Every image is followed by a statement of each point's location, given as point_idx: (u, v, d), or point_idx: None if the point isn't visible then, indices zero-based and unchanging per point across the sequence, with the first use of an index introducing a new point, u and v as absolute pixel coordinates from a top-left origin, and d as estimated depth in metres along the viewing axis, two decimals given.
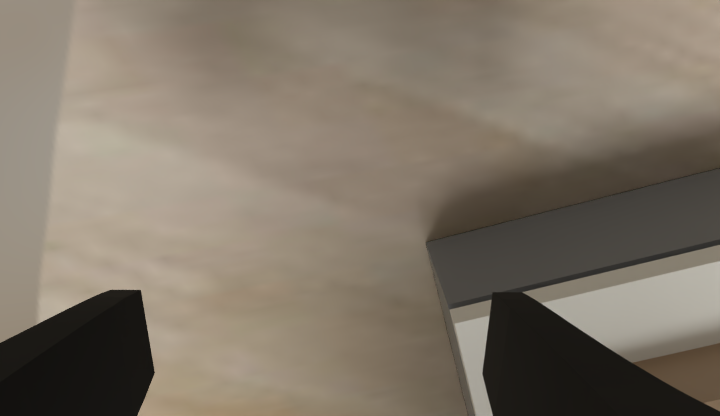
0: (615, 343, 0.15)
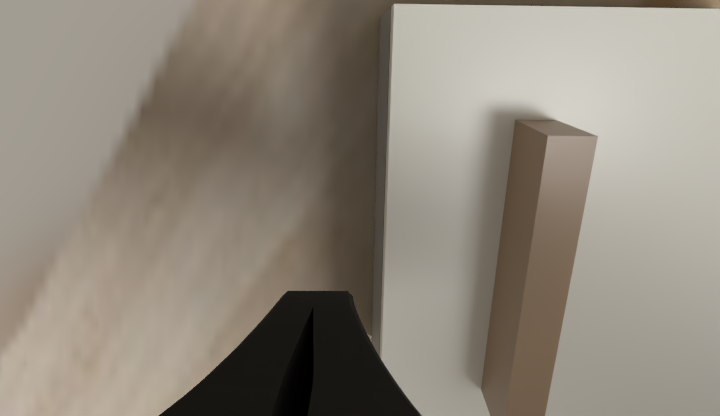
0: (457, 324, 0.13)
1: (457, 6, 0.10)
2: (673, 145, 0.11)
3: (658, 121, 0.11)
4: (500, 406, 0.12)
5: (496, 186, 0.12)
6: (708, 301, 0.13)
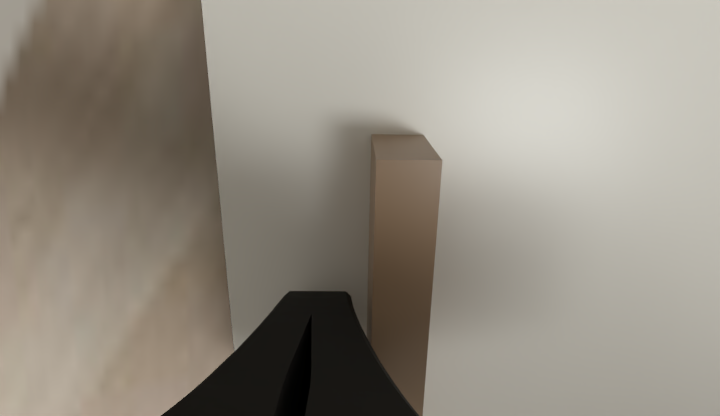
0: None
1: None
2: (572, 166, 0.09)
3: (551, 135, 0.09)
4: None
5: (357, 215, 0.09)
6: (628, 351, 0.11)
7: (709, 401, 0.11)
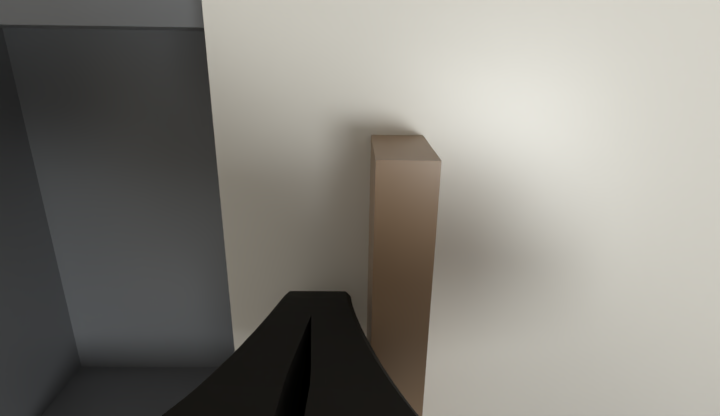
0: None
1: None
2: (571, 166, 0.09)
3: (549, 136, 0.09)
4: None
5: (357, 215, 0.09)
6: (627, 350, 0.11)
7: (708, 401, 0.11)
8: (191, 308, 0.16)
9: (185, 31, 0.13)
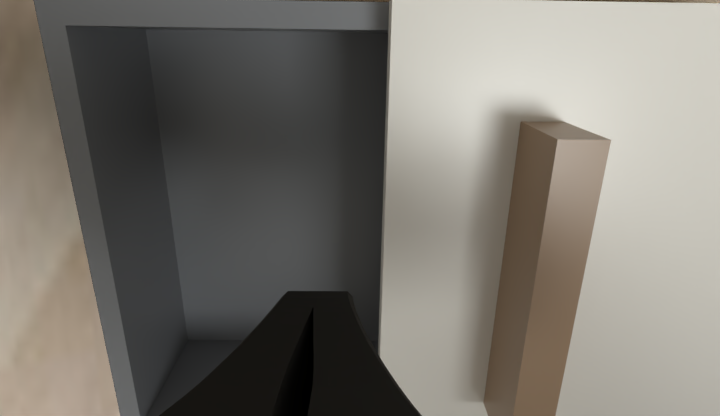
0: (459, 335, 0.12)
1: (460, 0, 0.10)
2: (687, 148, 0.11)
3: (671, 122, 0.10)
4: None
5: (501, 191, 0.11)
6: None
7: None
8: (293, 285, 0.18)
9: (309, 32, 0.15)
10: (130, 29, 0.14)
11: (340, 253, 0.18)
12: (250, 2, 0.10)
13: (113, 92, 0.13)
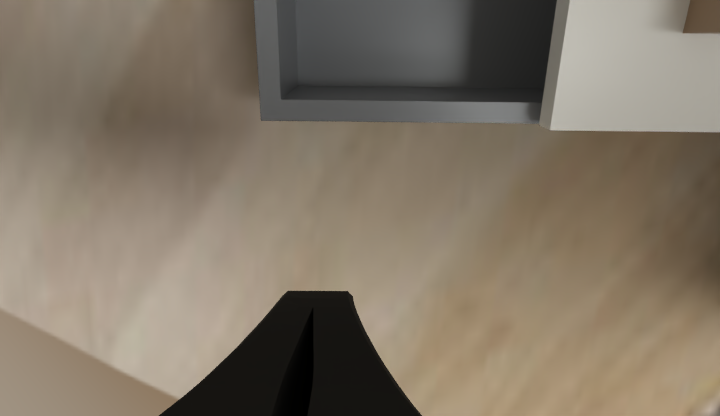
0: None
1: None
2: None
3: None
4: None
5: None
6: None
7: None
8: (417, 14, 0.17)
9: None
10: None
11: None
12: None
13: None
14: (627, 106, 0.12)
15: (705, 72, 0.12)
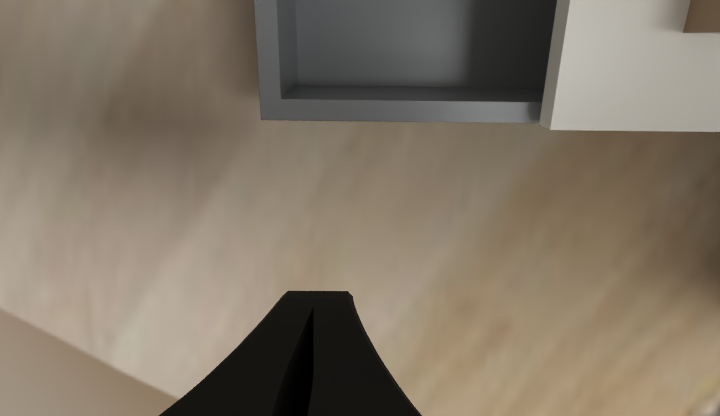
0: None
1: None
2: None
3: None
4: None
5: None
6: None
7: None
8: (418, 13, 0.17)
9: None
10: None
11: None
12: None
13: None
14: (627, 106, 0.12)
15: (706, 71, 0.12)
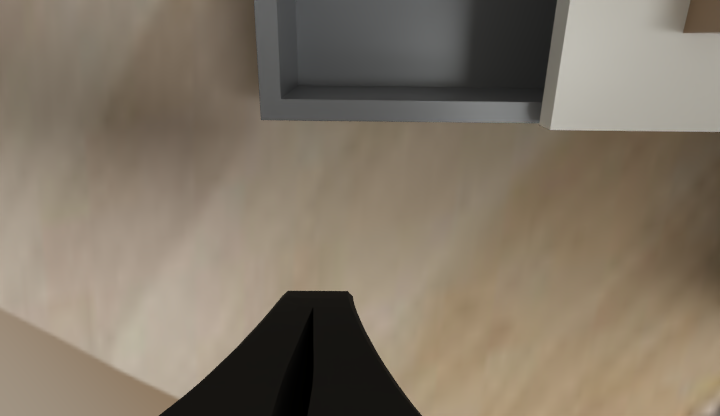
0: None
1: None
2: None
3: None
4: None
5: None
6: None
7: None
8: (418, 13, 0.17)
9: None
10: None
11: None
12: None
13: None
14: (627, 106, 0.12)
15: (706, 71, 0.12)
